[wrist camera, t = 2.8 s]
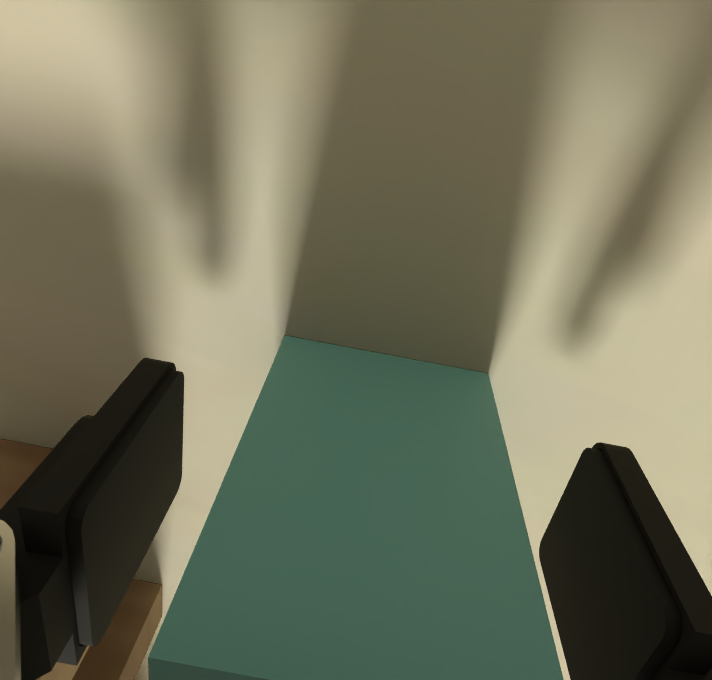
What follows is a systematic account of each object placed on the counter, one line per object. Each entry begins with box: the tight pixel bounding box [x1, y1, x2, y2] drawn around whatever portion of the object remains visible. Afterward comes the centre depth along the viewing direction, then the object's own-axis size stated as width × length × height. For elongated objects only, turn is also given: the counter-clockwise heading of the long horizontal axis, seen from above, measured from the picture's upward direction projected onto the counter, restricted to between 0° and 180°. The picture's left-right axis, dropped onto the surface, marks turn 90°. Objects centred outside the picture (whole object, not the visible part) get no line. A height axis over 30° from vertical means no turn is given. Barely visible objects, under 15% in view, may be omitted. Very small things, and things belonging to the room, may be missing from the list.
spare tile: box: [148, 335, 563, 680], centre depth 10 cm, size 5×2×8 cm, turn 81°
